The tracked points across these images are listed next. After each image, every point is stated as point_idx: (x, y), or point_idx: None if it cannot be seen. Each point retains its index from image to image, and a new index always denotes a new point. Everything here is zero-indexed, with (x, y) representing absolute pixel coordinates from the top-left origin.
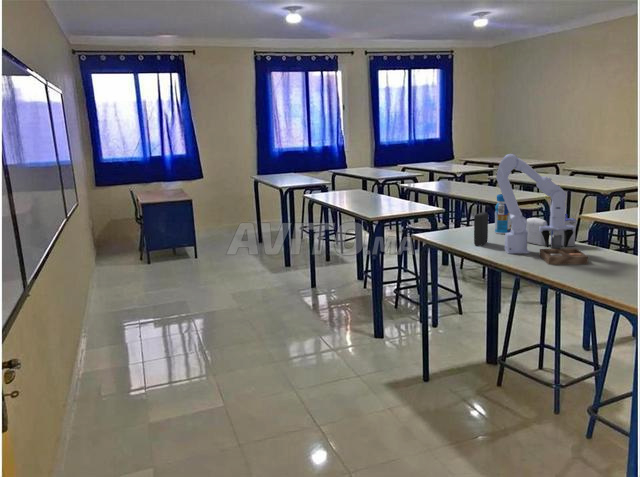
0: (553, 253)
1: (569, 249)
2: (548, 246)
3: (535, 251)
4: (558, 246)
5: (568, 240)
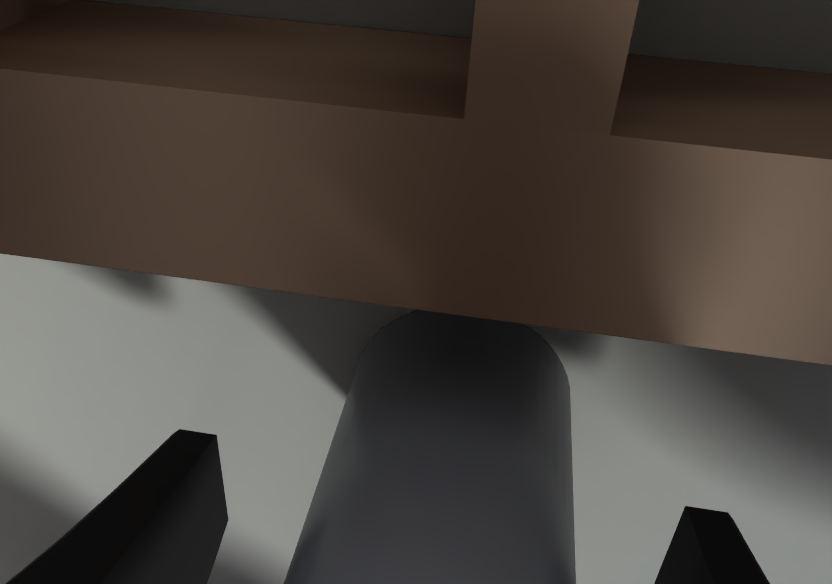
0: (752, 100)
1: (157, 131)
2: (703, 531)
3: (826, 570)
4: (423, 450)
5: (32, 576)
